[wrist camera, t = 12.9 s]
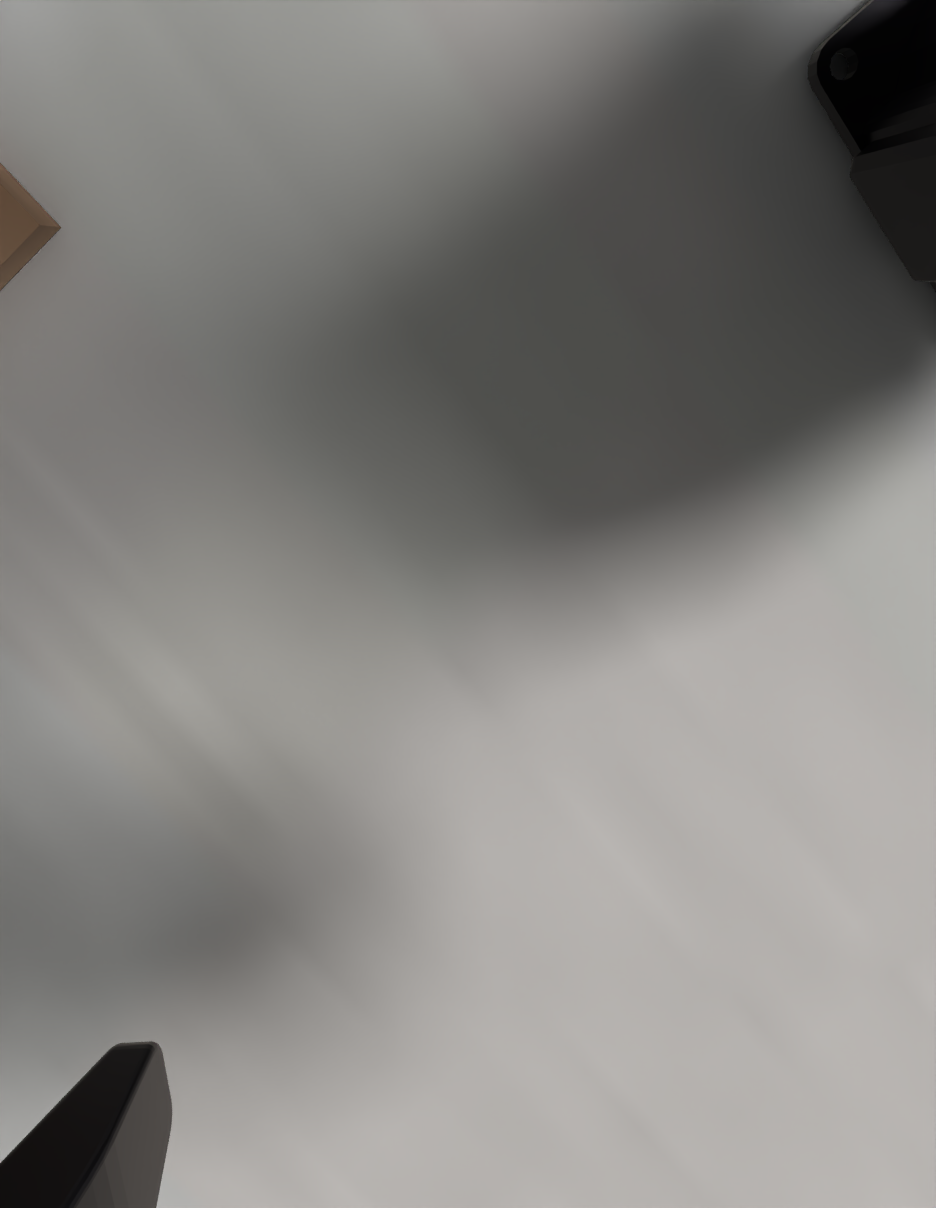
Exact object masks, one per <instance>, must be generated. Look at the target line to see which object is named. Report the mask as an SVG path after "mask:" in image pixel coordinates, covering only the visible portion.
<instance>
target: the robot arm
mask: <svg viewBox="0 0 936 1208" xmlns="http://www.w3.org/2000/svg"><path fill="white" fill-rule="evenodd" d="M835 53H840V54H842V55H843V56H844V57H845V58H846V59H847V62H848V71H847V75H846V76H845V78H844V79H843V80H837V79H836V78H835V77H834V76H833V75H832V74H831V70H830V63H831V58H832V57H833V55H834V54H835ZM808 80H809V83H810V86H811V88H812V90H813V92H814V93H815V95H816V97H817V98H818V100H819V102H820V103H821V105H822V107H823V108H824V110H825V111H826V113H827V115H828V116H829V118H830V120H831V121H832V123H833V125H834V126H835V128H836V129H837V131H838V133H839V134H840V136H841V138H842V139H843V141H844V143H845V144H846V146H847V147H848V149H849V151H850V152H851V154H852V156H853V157H854V158H853V159H852V162H851V170H850V178H851V180H852V182H853V183H854V185H855V186H856V188H857V190H858V191H859V193H860V194H861V196H862V198H863V199H864V201H865V203H866V204H867V206H868V207H869V209H870V211H871V212H872V214H873V216H874V217H875V219H876V220H877V222H878V224H879V225H880V227H881V229H882V230H883V232H884V233H885V235H886V237H887V238H888V240H889V241H890V243H891V245H892V246H893V248H894V250H895V251H896V253H897V254H898V256H899V258H900V259H901V261H902V263H903V264H904V266H905V267H906V269H907V271H908V272H909V274H910V276H911V277H912V278H913V279H914V280H916V281H927V282H930V283H931V285H932V287H933V288H934V290H935V292H936V0H870V1H869V2H868V3H867V4H866V5H865V6H863V7H862V8H861V9H860V10H859V11H858V12H857V13H855V14H854V15H853V16H852V17H851V18H850V19H849V20H848V21H846V22H845V23H844V24H843V25H842V26H841V27H840V28H838V29H837V30H836V31H835V32H834V33H833V34H832V35H830V36H829V37H828V38H827V39H826V40H825V41H824V42H823V43H821V44H820V45H819V47H818V48H817V49H816V50H815V52H814V53H813V54H812V57H811V59H810V62H809V65H808ZM171 1123H172V1102H171V1096H170V1090H169V1085H168V1080H167V1074H166V1069H165V1063H164V1058H163V1053H162V1050H161V1048H160V1046H159V1044H157V1043H155V1042H133V1043H120V1044H117V1045H115V1046H114V1047H112V1048H111V1049H110V1050H109V1051H108V1052H107V1053H106V1054H105V1055H104V1056H103V1057H102V1058H101V1059H100V1060H99V1061H98V1062H97V1063H96V1064H95V1065H94V1066H93V1067H92V1068H91V1069H90V1070H89V1071H88V1072H87V1073H86V1074H85V1075H84V1076H83V1078H82V1079H81V1080H80V1081H79V1082H78V1083H77V1084H76V1085H75V1086H74V1087H73V1088H72V1089H71V1090H70V1091H69V1092H68V1093H67V1094H66V1095H65V1096H64V1097H63V1098H62V1099H61V1100H60V1101H59V1103H58V1104H57V1105H56V1106H55V1107H54V1108H53V1109H52V1110H51V1111H50V1112H49V1113H48V1114H47V1115H46V1116H45V1117H44V1118H43V1119H42V1120H41V1121H40V1122H39V1123H38V1124H37V1125H36V1126H35V1127H34V1129H33V1130H32V1131H31V1132H30V1133H29V1134H28V1135H27V1136H26V1137H25V1138H24V1139H23V1140H22V1141H21V1142H20V1143H19V1144H18V1145H17V1146H16V1147H15V1148H14V1149H13V1150H12V1151H11V1152H10V1154H9V1155H8V1156H7V1157H6V1158H5V1159H4V1160H3V1161H2V1162H1V1163H0V1208H156V1206H157V1200H158V1195H159V1190H160V1184H161V1179H162V1174H163V1168H164V1163H165V1158H166V1152H167V1147H168V1142H169V1136H170V1131H171Z"/></svg>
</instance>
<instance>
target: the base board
mask: <svg viewBox="0 0 936 1208" xmlns="http://www.w3.org/2000/svg"><path fill="white" fill-rule="evenodd" d="M60 228H61V227H60V226H59V225H58V224H57V223H56V222H55V221H54V220H53V219H52V217H51V216H50V215H49V214H48V213H47V212H46V211H45V210H44V209H43V208H42V207H41V206H40V205H39V204H38V203H37V201H36V200H35V199H34V198H33V197H32V196H31V195H30V194H29V193H28V192H27V191H26V190H25V189H24V188H23V187H22V185H21V184H20V183H19V182H18V181H17V180H16V179H15V178H14V177H13V176H12V175H11V174H10V173H9V172H8V171H7V170H6V168H5V167H4V166H3V165H2V164H1V163H0V290H1V289H2V288H3V287H4V286H5V285H6V284H7V283H8V282H9V281H10V280H11V279H12V278H13V277H14V276H15V275H16V273H17V272H18V271H19V270H20V269H21V268H22V267H23V266H24V265H25V264H26V263H27V262H28V261H29V260H30V259H31V258H32V257H33V256H34V255H35V254H36V253H37V252H38V251H39V250H40V249H41V248H42V247H43V246H44V245H45V244H46V242H47V241H48V240H49V239H50V238H51V237H52V236H53V235H54V234H55V233H56V232H57V231H58V230H59V229H60Z"/></svg>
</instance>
